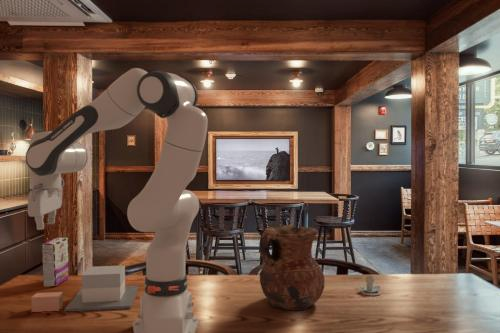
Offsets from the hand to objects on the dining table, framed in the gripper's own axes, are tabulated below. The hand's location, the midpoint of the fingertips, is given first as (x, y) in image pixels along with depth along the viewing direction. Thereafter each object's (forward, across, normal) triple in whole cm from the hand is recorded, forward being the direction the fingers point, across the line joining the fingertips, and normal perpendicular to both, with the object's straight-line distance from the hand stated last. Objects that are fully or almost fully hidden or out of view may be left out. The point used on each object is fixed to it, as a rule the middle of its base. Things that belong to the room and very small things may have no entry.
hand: (46, 226), depth 128 cm
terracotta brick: (+27, 0, 0) cm, 27 cm away
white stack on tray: (+26, +7, -16) cm, 32 cm away
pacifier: (+27, 0, -108) cm, 111 cm away
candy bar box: (+27, +28, +6) cm, 39 cm away
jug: (+26, -6, -78) cm, 83 cm away
